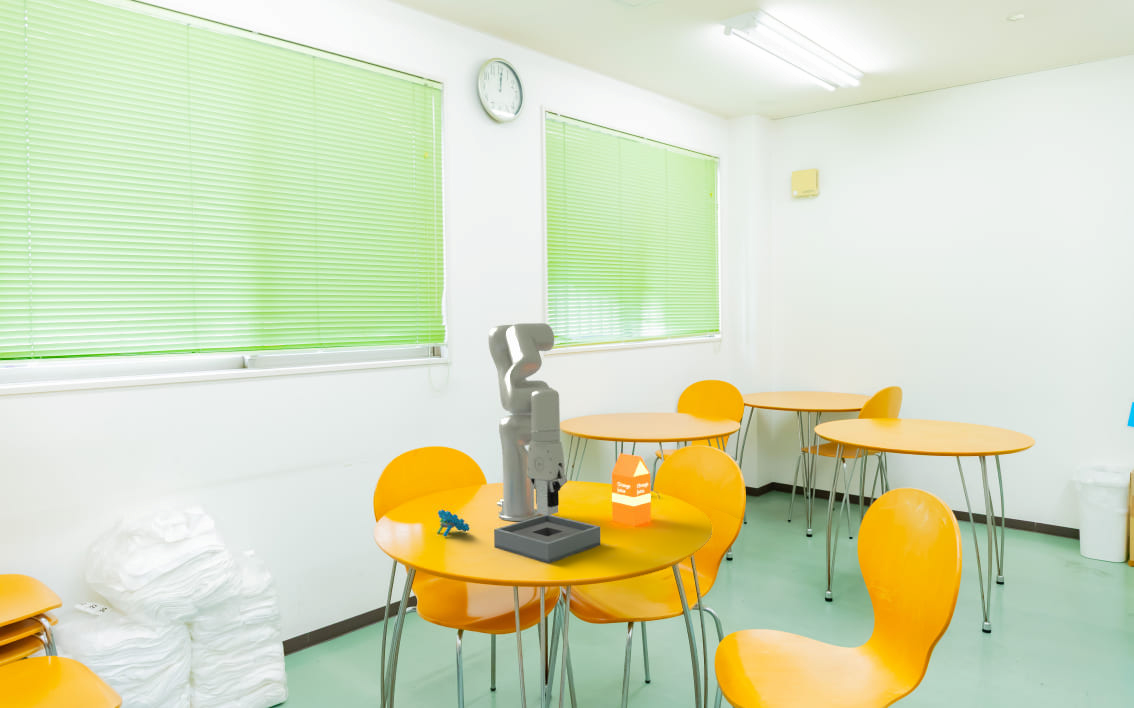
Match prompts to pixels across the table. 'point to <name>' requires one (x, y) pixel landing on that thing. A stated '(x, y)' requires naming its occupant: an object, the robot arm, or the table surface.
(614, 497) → the orange juice
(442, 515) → the blue bumpy legged piece
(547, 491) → the peg
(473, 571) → the table surface
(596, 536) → the box
